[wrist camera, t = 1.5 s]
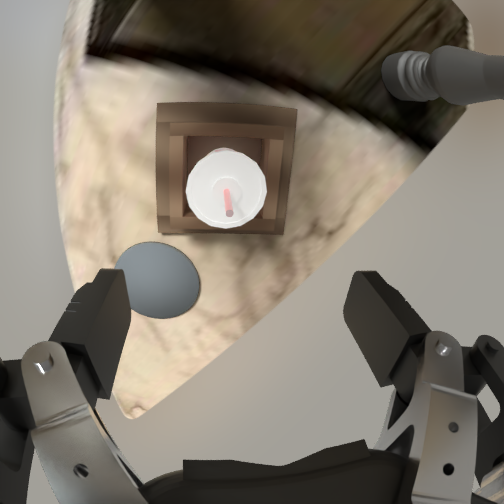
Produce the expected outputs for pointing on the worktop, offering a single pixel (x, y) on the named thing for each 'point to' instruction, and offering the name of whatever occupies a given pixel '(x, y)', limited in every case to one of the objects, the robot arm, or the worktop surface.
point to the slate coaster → (159, 279)
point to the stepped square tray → (230, 125)
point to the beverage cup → (226, 188)
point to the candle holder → (444, 75)
